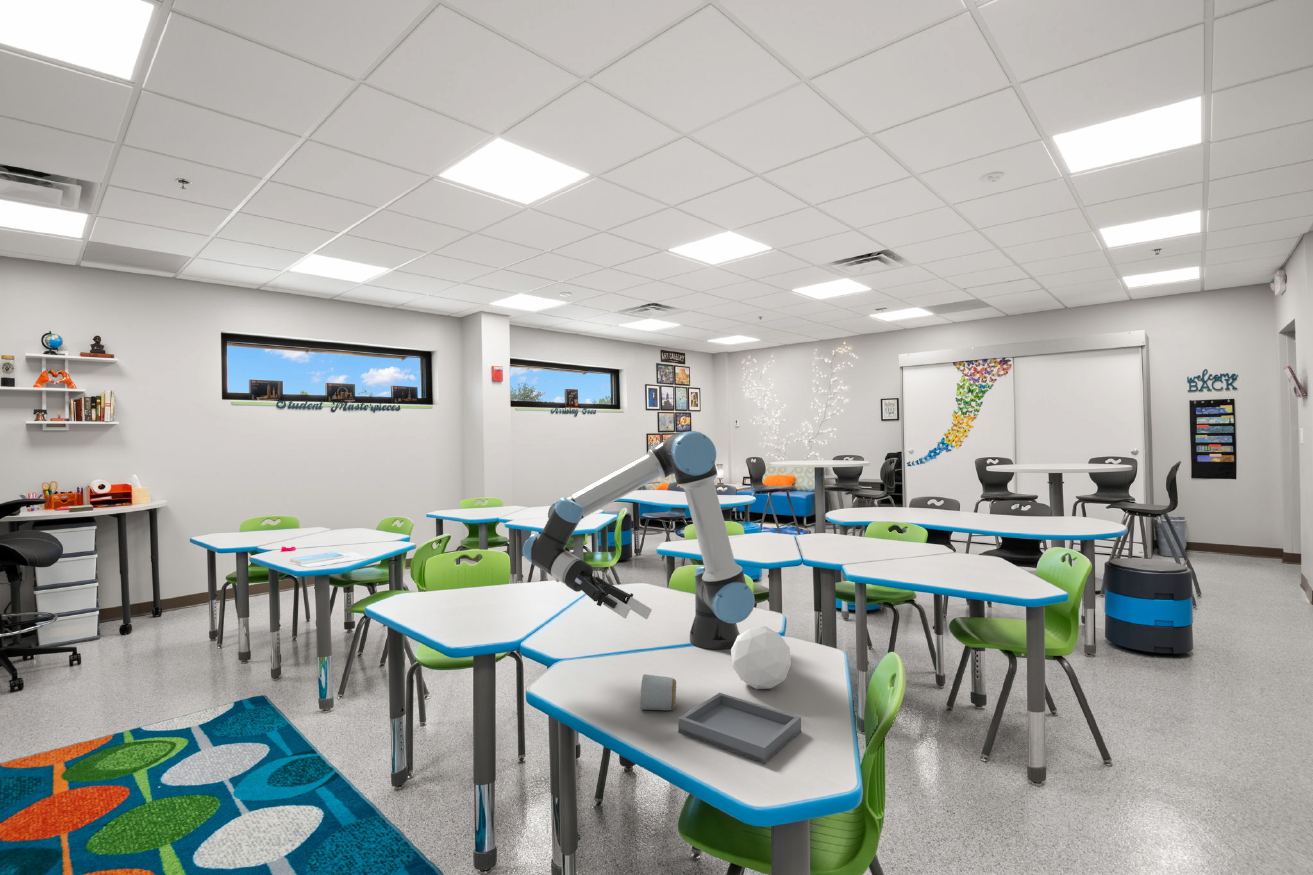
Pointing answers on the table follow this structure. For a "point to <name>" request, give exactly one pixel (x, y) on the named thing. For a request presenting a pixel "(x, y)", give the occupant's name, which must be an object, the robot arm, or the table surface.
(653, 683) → the grey rounded cylinder
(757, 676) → the geometric shape
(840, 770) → the table surface
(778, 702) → the table surface
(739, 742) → the tray
